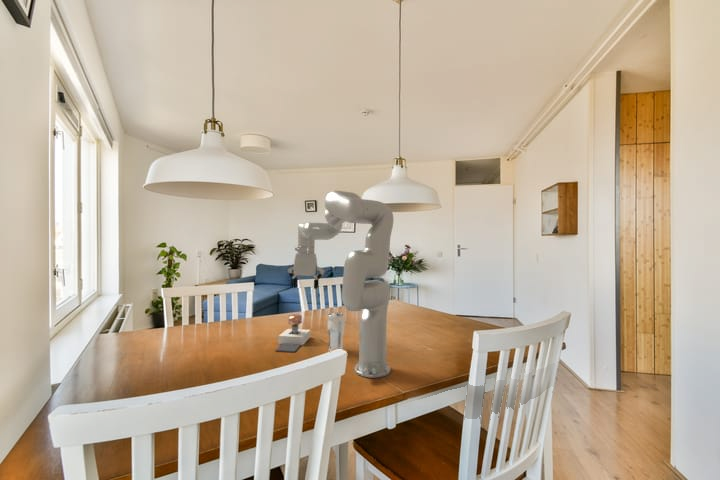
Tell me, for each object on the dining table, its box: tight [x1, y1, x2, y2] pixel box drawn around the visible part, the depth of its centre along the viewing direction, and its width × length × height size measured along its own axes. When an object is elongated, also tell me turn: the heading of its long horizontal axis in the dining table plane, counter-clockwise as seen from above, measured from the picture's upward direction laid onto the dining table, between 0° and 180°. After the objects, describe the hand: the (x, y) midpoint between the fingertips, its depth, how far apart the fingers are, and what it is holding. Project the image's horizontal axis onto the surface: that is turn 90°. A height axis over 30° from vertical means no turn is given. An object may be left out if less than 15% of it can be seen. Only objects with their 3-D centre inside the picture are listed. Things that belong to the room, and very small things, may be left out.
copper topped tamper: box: [287, 314, 303, 335], centre depth 141 cm, size 6×6×11 cm
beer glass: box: [327, 312, 345, 352], centre depth 129 cm, size 7×7×15 cm
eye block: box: [277, 328, 311, 346], centre depth 141 cm, size 11×11×4 cm
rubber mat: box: [275, 344, 302, 354], centre depth 130 cm, size 8×8×1 cm
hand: (305, 287), depth 143 cm, fingers open, 9 cm apart
